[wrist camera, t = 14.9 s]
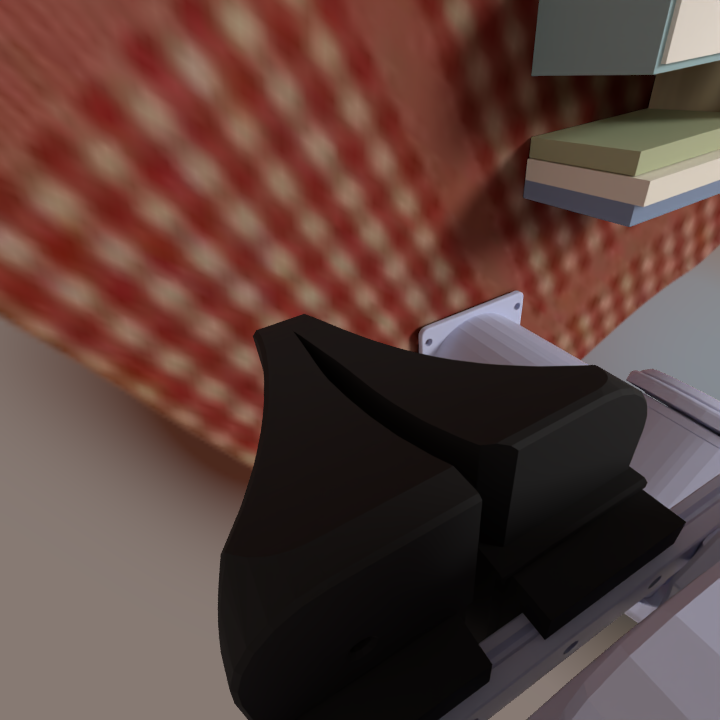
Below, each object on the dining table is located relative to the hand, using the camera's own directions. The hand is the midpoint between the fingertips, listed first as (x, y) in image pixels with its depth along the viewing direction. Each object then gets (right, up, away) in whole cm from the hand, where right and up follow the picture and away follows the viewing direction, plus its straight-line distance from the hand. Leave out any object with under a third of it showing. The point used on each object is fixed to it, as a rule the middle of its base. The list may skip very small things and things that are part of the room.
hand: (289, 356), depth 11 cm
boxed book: (+13, +17, +11) cm, 24 cm away
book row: (+15, +12, +15) cm, 24 cm away
